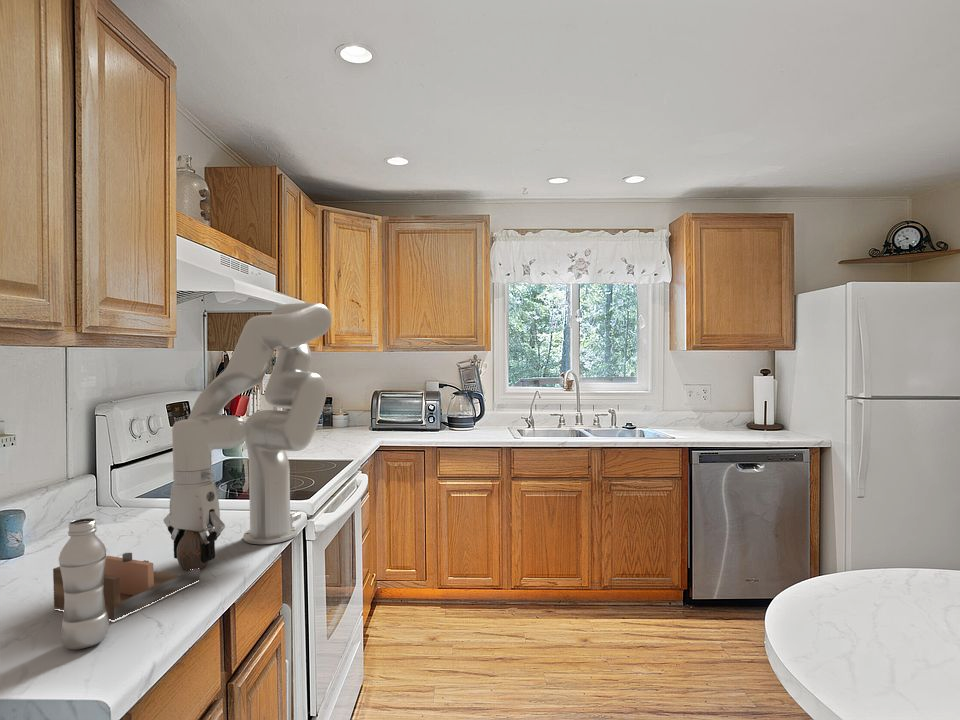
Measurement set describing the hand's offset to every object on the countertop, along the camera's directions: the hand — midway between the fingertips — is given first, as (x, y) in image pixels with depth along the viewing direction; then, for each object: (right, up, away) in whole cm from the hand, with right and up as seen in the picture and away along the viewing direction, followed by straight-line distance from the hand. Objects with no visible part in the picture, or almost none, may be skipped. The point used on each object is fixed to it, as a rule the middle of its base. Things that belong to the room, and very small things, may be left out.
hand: (194, 557), depth 130 cm
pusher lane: (-5, -2, -14) cm, 16 cm away
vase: (0, -2, 0) cm, 2 cm away
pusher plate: (-5, -2, -14) cm, 16 cm away
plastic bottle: (-2, -3, -33) cm, 34 cm away
